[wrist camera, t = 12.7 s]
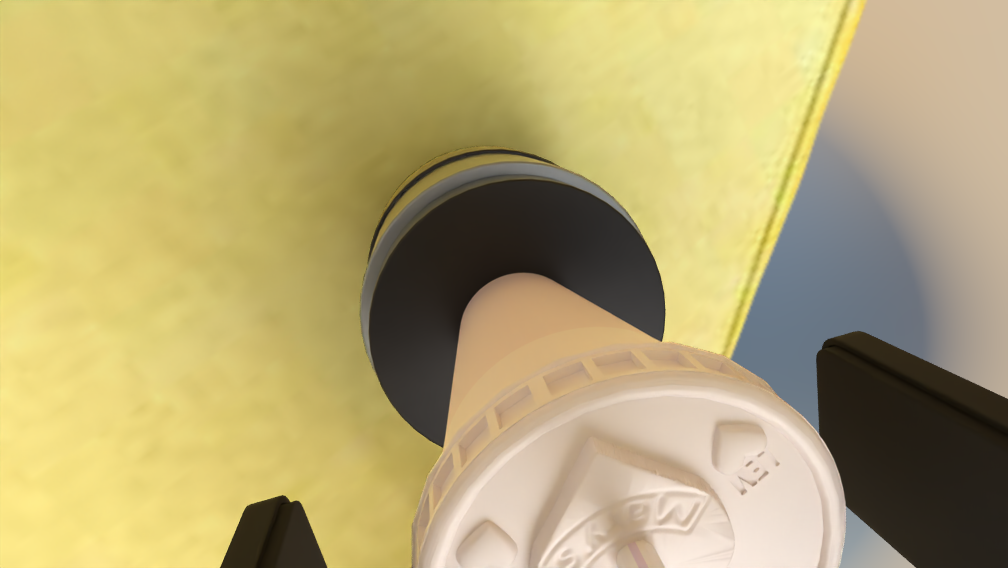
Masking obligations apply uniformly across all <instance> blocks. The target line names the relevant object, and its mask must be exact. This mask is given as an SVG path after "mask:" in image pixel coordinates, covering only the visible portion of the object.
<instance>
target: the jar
mask: <svg viewBox="0 0 1008 568" xmlns="http://www.w3.org/2000/svg"><path fill="white" fill-rule="evenodd" d="M514 273H533V274H538V275H542V276H544V277H547V278H549V279H551V280H553V281H555V282H556V283H558V284H560V285H562V286H563V287H565V288H567V289H569V290H570V291H572V292H574V293H576V294H577V295H579V296H581V297H583V298H584V299H586V300H588V301H590V302H591V303H593V304H595V305H597V306H598V307H600V308H602V309H604V310H605V311H607V312H609V313H611V314H612V315H614V316H616V317H618V318H619V319H621V320H623V321H625V322H626V323H628V324H630V325H632V326H633V327H635V328H637V329H639V330H640V331H642V332H644V333H645V334H647V335H649V336H651V337H652V338H654V339H657V340H659V341H661V342H662V339H663V334H664V326H665V299H664V290H663V285H662V281H661V276H660V273H659V270H658V267H657V265H656V262H655V259H654V257H653V255H652V253H651V251H650V249H649V247H648V246H647V244H646V242H645V240H644V238H643V236H642V234H641V232H640V230H639V229H638V227H637V225H636V224H635V222H634V221H633V219H632V218H631V217H630V215H629V214H628V212H627V211H626V210H625V209H624V208H623V207H622V206H621V205H620V204H619V203H618V202H617V200H616V199H615V198H614V197H613V196H611V195H610V194H609V193H607V192H606V191H605V190H604V189H602V188H601V187H600V186H599V185H597V184H595V183H594V182H592V181H590V180H588V179H587V178H585V177H583V176H581V175H579V174H577V173H574V172H572V171H569V170H567V169H564V168H562V167H560V166H558V165H556V164H554V163H553V162H551V161H549V160H546V159H544V158H541V157H539V156H536V155H533V154H530V153H526V152H522V151H518V150H514V149H510V148H505V147H496V146H476V147H470V148H464V149H459V150H455V151H452V152H449V153H446V154H443V155H441V156H439V157H437V158H434V159H432V160H431V161H429V162H428V163H426V164H424V165H423V166H421V167H420V168H419V169H417V170H416V171H415V172H414V173H413V174H412V175H410V176H409V177H408V178H407V179H406V180H405V181H404V182H403V183H402V184H401V185H400V187H399V188H398V189H397V190H396V191H395V193H394V194H393V196H392V197H391V199H390V200H389V202H388V203H387V205H386V207H385V209H384V211H383V213H382V215H381V217H380V220H379V223H378V225H377V228H376V231H375V234H374V237H373V240H372V242H371V246H370V252H369V257H368V266H367V269H366V272H365V275H364V279H363V285H362V290H361V296H360V323H361V333H362V337H363V342H364V346H365V350H366V353H367V356H368V358H369V361H370V363H371V365H372V368H373V370H374V372H375V374H376V375H377V377H378V380H379V382H380V385H381V387H382V389H383V390H384V392H385V394H386V396H387V397H388V399H389V401H390V403H391V404H392V405H393V406H394V408H395V409H396V410H397V411H398V413H399V414H400V415H401V417H402V418H403V419H404V420H405V421H407V422H408V423H409V424H410V425H411V426H412V427H413V428H414V429H415V430H416V431H417V432H419V433H420V434H422V435H423V436H424V437H426V438H427V439H428V440H430V441H432V442H433V443H435V444H437V445H439V446H441V447H444V442H445V435H446V428H447V420H448V413H449V406H450V398H451V391H452V383H453V376H454V369H455V361H456V354H457V347H458V339H459V332H460V325H461V320H462V316H463V314H464V311H465V309H466V307H467V305H468V303H469V302H470V300H471V299H472V298H473V296H474V295H475V294H476V293H477V292H478V291H479V290H480V289H481V288H482V287H484V286H485V285H486V284H488V283H489V282H491V281H493V280H495V279H497V278H499V277H502V276H505V275H509V274H514Z"/></svg>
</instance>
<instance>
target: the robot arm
mask: <svg viewBox="0 0 1008 568" xmlns="http://www.w3.org/2000/svg"><path fill="white" fill-rule="evenodd" d="M816 363H817V388H818V411H819V435H820V437H821V438H822V440H823V441H824V442H825V444H826V446H827V448H828V450H829V451H830V453H831V455H832V457H833V459H834V461H835V464H836V467H837V469H838V472H839V474H840V478H841V482H842V486H843V490H844V498H845V506H847V507H848V508H849V509H850V510H851V511H852V512H853V513H855V514H856V515H857V516H858V517H859V518H860V519H861V520H863V521H864V522H865V523H866V524H867V525H868V526H869V527H870V528H872V529H873V530H874V531H875V532H876V533H877V534H878V535H879V536H881V537H882V538H883V539H884V540H885V541H886V542H888V543H889V544H890V545H891V546H892V547H893V548H894V549H895V550H897V551H898V552H899V553H900V554H901V555H902V556H903V557H905V558H906V559H907V560H908V561H909V562H910V563H911V564H912V565H914V566H915V567H916V568H1008V399H1007V398H1005V397H1002V396H1000V395H998V394H996V393H994V392H992V391H990V390H987V389H985V388H983V387H981V386H979V385H977V384H975V383H972V382H970V381H968V380H966V379H964V378H962V377H959V376H957V375H955V374H953V373H951V372H949V371H947V370H944V369H942V368H940V367H938V366H936V365H934V364H932V363H929V362H927V361H925V360H923V359H920V358H919V357H916V356H914V355H912V354H910V353H908V352H906V351H904V350H901V349H899V348H897V347H895V346H893V345H891V344H888V343H886V342H884V341H882V340H880V339H878V338H876V337H873V336H871V335H869V334H867V333H864V332H861V331H857V332H852V333H848V334H845V335H841V336H838V337H834V338H831V339H828V340H826V341H825V342H824V344H823V346H822V350H820V351H819V352H818V353H817V358H816ZM220 568H327V566H326V563H325V561H324V558H323V556H322V553H321V551H320V548H319V546H318V543H317V541H316V538H315V536H314V533H313V531H312V529H311V526H310V524H309V521H308V519H307V516H306V514H305V511H304V509H303V507H302V505H301V503H300V502H299V501H293V502H290V501H289V499H288V498H287V497H286V496H283V495H282V496H278V497H275V498H271V499H268V500H264V501H261V502H257V503H254V504H250V505H248V506H247V507H246V508H245V510H244V512H243V514H242V517H241V519H240V522H239V524H238V526H237V529H236V531H235V534H234V536H233V538H232V541H231V543H230V545H229V548H228V550H227V553H226V555H225V557H224V560H223V562H222V565H221V567H220Z"/></svg>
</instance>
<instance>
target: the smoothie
mask: <svg viewBox="0 0 1008 568" xmlns="http://www.w3.org/2000/svg"><path fill="white" fill-rule="evenodd" d="M845 529H846V506H845V498H844V490H843V486H842V482H841V478H840V474H839V472H838V469H837V467H836V464H835V461H834V459H833V457H832V455H831V453H830V451H829V450H828V448H827V446H826V444H825V442H824V441H823V440H822V438H821V437H820V435H819V434H818V433H817V431H816V430H815V429H814V428H813V427H812V425H811V424H809V422H808V421H807V420H806V419H805V418H804V417H803V416H802V415H801V414H800V413H798V412H797V411H796V410H795V409H794V408H792V407H791V406H790V405H788V404H787V403H786V402H785V401H783V400H782V399H781V398H779V397H778V396H777V394H776V393H775V392H774V391H773V389H772V388H771V387H770V386H769V385H768V384H767V382H766V381H764V380H763V379H761V378H760V377H758V376H756V375H755V374H753V373H751V372H750V371H748V370H747V369H745V368H743V367H742V366H740V365H738V364H737V363H735V362H734V361H732V360H730V359H729V358H727V357H725V356H724V355H720V354H716V353H712V352H709V351H705V350H701V349H697V348H693V347H689V346H686V345H682V344H678V343H674V342H661V341H659V340H657V339H654V338H652V337H651V336H649V335H647V334H645V333H644V332H642V331H640V330H639V329H637V328H635V327H633V326H632V325H630V324H628V323H626V322H625V321H623V320H621V319H619V318H618V317H616V316H614V315H612V314H611V313H609V312H607V311H605V310H604V309H602V308H600V307H598V306H597V305H595V304H593V303H591V302H590V301H588V300H586V299H584V298H583V297H581V296H579V295H577V294H576V293H574V292H572V291H570V290H569V289H567V288H565V287H563V286H562V285H560V284H558V283H556V282H555V281H553V280H551V279H549V278H547V277H544V276H542V275H538V274H533V273H514V274H509V275H505V276H502V277H499V278H497V279H495V280H493V281H491V282H489V283H488V284H486V285H485V286H484V287H482V288H481V289H480V290H479V291H478V292H477V293H476V294H475V295H474V296H473V298H472V299H471V300H470V302H469V303H468V305H467V307H466V309H465V311H464V314H463V316H462V320H461V325H460V332H459V339H458V347H457V354H456V361H455V369H454V376H453V383H452V391H451V398H450V406H449V413H448V420H447V428H446V435H445V442H444V447H443V452H442V454H441V456H440V457H439V459H438V460H437V462H436V463H435V465H434V466H433V468H432V469H431V471H430V472H429V474H428V476H427V479H426V482H425V485H424V488H423V491H422V495H421V498H420V501H419V504H418V507H417V510H416V514H415V517H414V520H413V523H412V568H839V565H840V562H841V556H842V550H843V545H844V539H845Z"/></svg>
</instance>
